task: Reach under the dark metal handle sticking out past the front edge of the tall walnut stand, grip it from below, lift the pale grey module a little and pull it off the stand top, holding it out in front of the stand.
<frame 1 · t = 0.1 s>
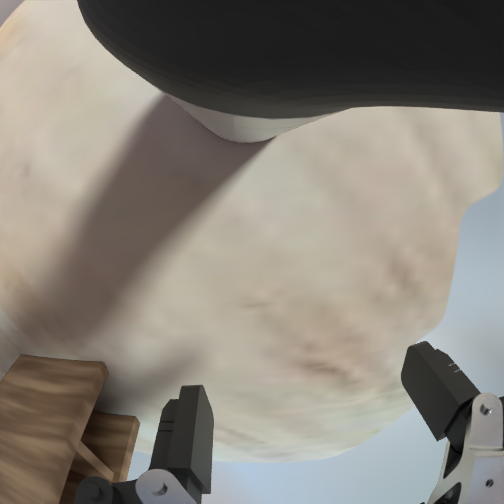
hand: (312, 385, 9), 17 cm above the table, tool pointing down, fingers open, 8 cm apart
shelf unit: (76, 391, 32), on the table
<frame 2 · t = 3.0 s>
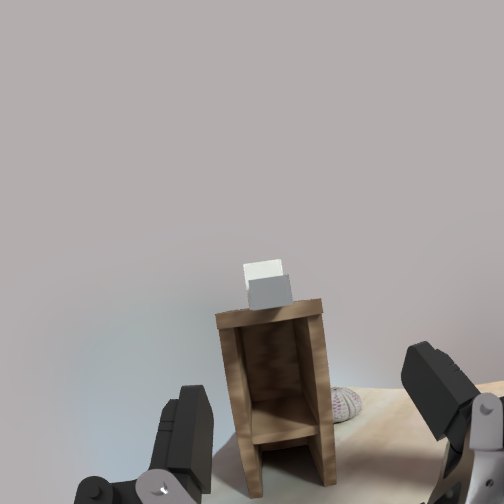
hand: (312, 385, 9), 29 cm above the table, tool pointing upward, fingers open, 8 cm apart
module: (266, 306, 41), point 32 cm above the table, touching shelf unit
sea urchin shell: (337, 416, 59), on the table
shelf unit: (288, 466, 39), on the table
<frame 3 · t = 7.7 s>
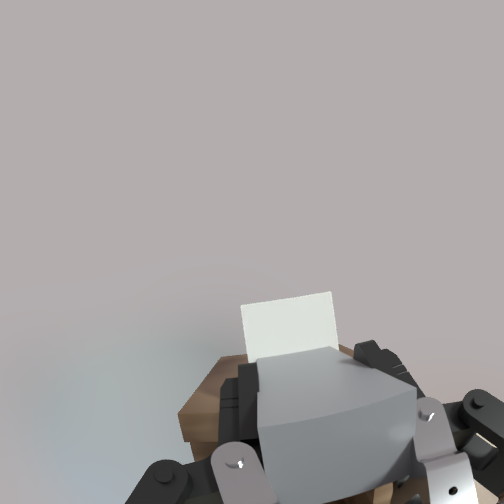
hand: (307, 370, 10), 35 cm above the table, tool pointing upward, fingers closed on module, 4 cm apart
module: (288, 377, 19), point 32 cm above the table, touching gripper, shelf unit
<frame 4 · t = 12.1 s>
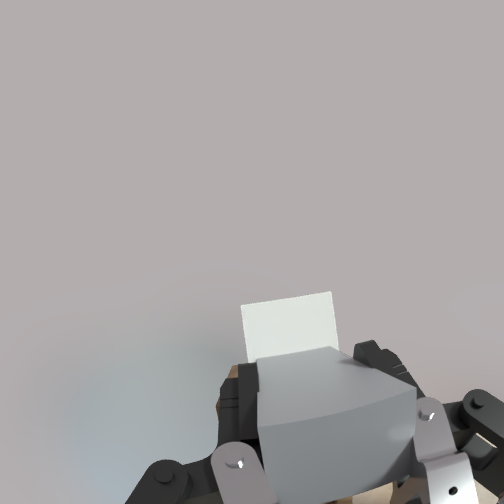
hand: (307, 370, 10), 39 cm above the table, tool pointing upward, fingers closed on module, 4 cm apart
module: (288, 377, 19), point 36 cm above the table, touching gripper
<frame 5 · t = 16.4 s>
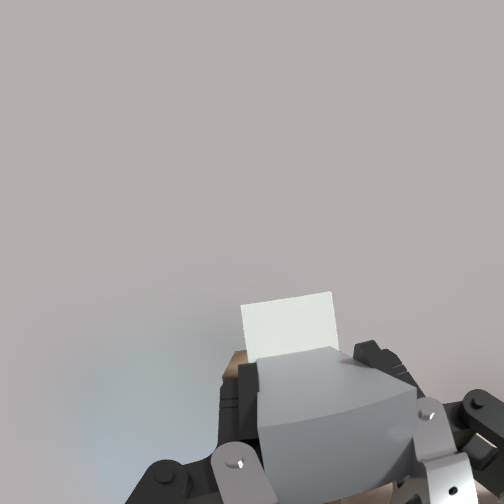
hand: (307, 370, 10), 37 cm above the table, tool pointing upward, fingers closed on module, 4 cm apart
module: (288, 377, 19), point 34 cm above the table, touching gripper
shelf unit: (293, 501, 35), on the table
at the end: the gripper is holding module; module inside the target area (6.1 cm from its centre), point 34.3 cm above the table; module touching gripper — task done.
